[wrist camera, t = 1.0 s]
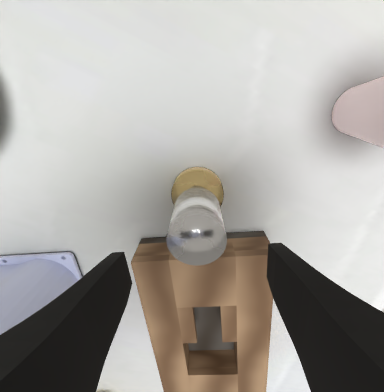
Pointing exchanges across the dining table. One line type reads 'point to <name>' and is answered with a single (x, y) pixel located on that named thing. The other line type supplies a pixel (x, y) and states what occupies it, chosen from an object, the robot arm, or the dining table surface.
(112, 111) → the dining table surface
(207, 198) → the peg
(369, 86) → the smoothie
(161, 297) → the keyhole board
